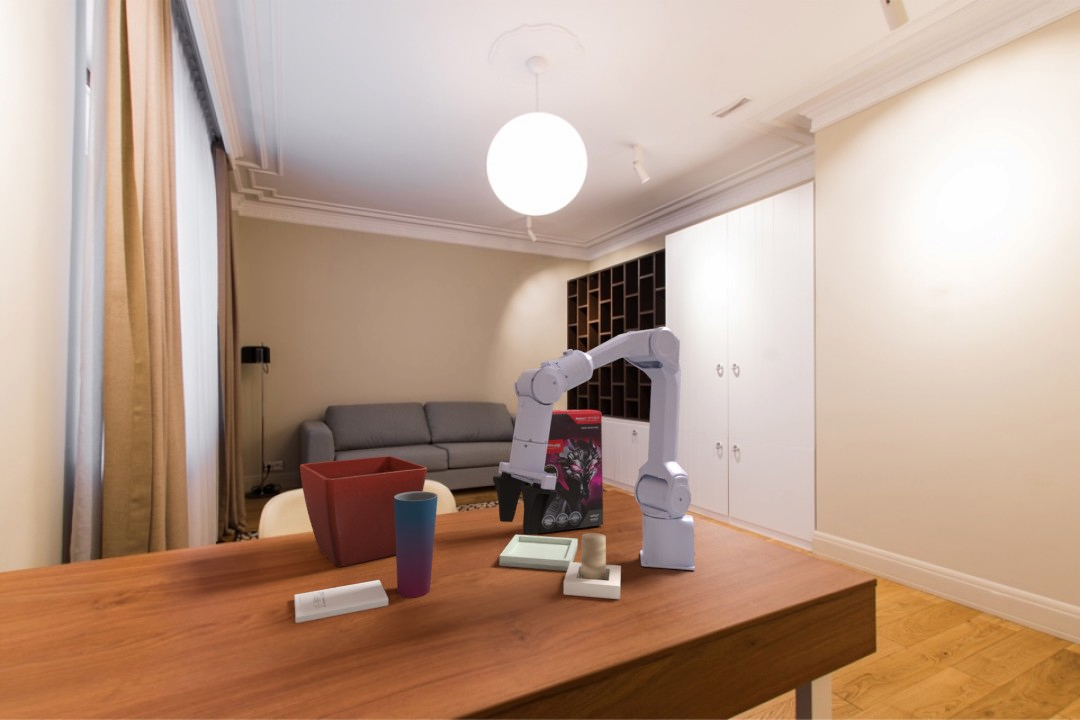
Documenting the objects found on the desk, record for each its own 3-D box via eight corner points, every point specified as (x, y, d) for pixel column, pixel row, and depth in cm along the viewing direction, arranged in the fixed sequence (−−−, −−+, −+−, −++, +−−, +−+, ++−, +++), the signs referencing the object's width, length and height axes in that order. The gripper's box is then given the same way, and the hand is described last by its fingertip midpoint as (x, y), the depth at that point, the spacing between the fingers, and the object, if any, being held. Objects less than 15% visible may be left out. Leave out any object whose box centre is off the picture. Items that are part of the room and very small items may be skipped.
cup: (424, 602, 74) (426, 501, 75) (383, 597, 76) (386, 499, 76) (442, 584, 81) (444, 492, 82) (404, 580, 82) (406, 490, 83)
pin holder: (620, 577, 85) (620, 565, 85) (619, 599, 76) (619, 586, 76) (570, 573, 86) (570, 561, 86) (563, 594, 78) (563, 581, 78)
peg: (606, 582, 83) (606, 533, 83) (605, 591, 79) (605, 541, 79) (582, 580, 84) (582, 532, 84) (580, 589, 80) (580, 539, 80)
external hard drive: (388, 609, 73) (295, 627, 67) (378, 588, 80) (293, 603, 75) (388, 598, 73) (295, 615, 68) (378, 578, 81) (294, 592, 75)
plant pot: (322, 579, 83) (326, 478, 84) (295, 548, 98) (298, 463, 99) (427, 555, 95) (429, 467, 96) (388, 531, 110) (390, 455, 111)
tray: (577, 547, 100) (577, 538, 100) (570, 571, 87) (570, 560, 88) (515, 543, 103) (515, 534, 103) (499, 565, 90) (499, 555, 90)
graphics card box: (537, 535, 108) (539, 411, 110) (525, 527, 114) (527, 409, 116) (604, 527, 115) (604, 410, 117) (589, 519, 122) (589, 409, 123)
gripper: (488, 434, 84) (475, 515, 82) (533, 443, 71) (518, 540, 70) (523, 438, 87) (511, 517, 85) (571, 448, 75) (559, 540, 73)
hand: (517, 527), depth 78 cm, fingers open, 7 cm apart
